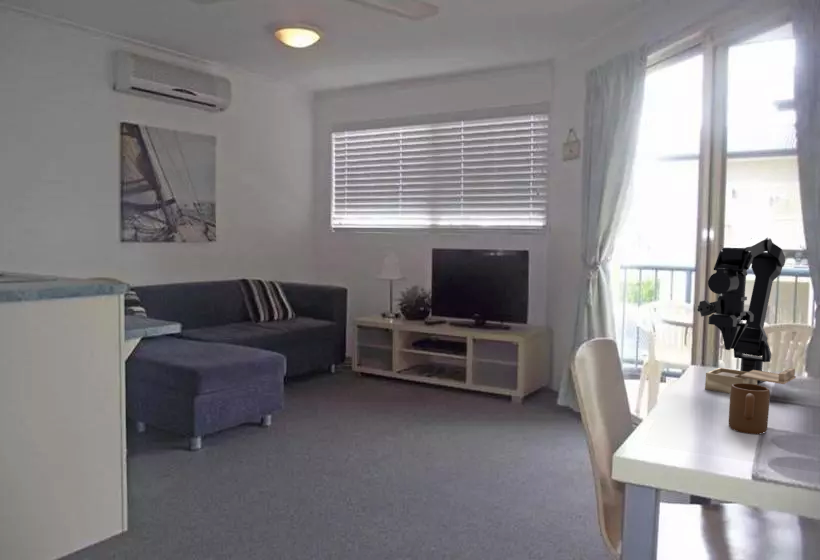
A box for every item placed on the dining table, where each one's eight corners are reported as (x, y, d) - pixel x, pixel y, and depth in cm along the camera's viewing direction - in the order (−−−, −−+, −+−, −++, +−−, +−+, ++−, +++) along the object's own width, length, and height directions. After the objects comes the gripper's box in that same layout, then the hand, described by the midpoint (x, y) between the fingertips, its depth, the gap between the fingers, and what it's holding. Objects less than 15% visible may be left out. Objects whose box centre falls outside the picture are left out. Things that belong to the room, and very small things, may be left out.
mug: (768, 442, 137) (771, 397, 137) (727, 436, 141) (730, 392, 140) (766, 428, 148) (769, 385, 147) (728, 422, 151) (731, 381, 151)
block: (738, 387, 186) (739, 374, 185) (732, 389, 182) (733, 376, 182) (721, 384, 189) (722, 371, 188) (715, 386, 185) (716, 374, 185)
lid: (753, 371, 186) (753, 362, 186) (795, 377, 179) (796, 368, 179) (740, 377, 178) (740, 367, 178) (784, 384, 171) (784, 374, 171)
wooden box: (718, 383, 192) (719, 367, 192) (756, 389, 185) (757, 373, 185) (704, 389, 184) (705, 372, 184) (744, 396, 177) (745, 379, 177)
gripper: (714, 288, 196) (711, 341, 197) (690, 291, 182) (686, 348, 183) (755, 291, 188) (752, 347, 189) (734, 295, 175) (730, 354, 176)
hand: (729, 349), depth 185 cm, fingers open, 3 cm apart
